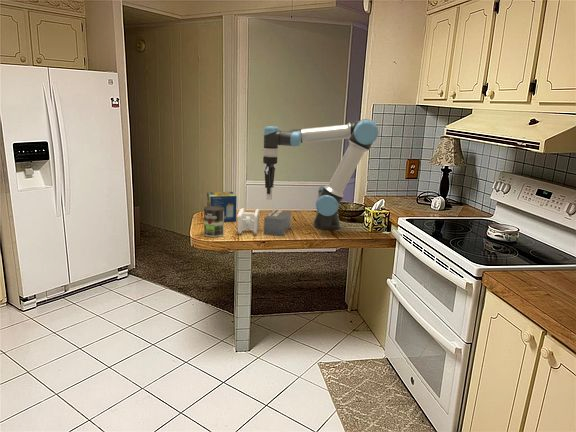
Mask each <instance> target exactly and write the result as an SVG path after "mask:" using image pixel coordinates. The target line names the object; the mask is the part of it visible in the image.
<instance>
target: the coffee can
mask: <svg viewBox="0 0 576 432" xmlns="http://www.w3.org/2000/svg"><path fill="white" fill-rule="evenodd" d="M203 211H204V212H203V213H204V214H203V216H204V217H203V220H204V221H203V222H204V223H203V225H204V226H203V232H204V233H203V235H204V236H206V237H209V238H219V237H222V236H224V234H225V233H224V232H225V229H224V228H225V222H224V207H221V206H207V205H206V206H204V207H203Z"/></svg>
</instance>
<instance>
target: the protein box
mask: <svg viewBox="0 0 576 432" xmlns="http://www.w3.org/2000/svg"><path fill="white" fill-rule="evenodd" d="M237 201H238V200H237V195H236V194H235V193H234V192H233V191H219V192H207V193H206V206H221V207H224V223H232V222H233V223H235V222H236V223H237Z"/></svg>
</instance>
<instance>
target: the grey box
mask: <svg viewBox="0 0 576 432" xmlns="http://www.w3.org/2000/svg"><path fill="white" fill-rule="evenodd" d="M291 218H292V211H287V210H279V209H273V210H272V211H271V212H269V213H268V214H266V215H265V217H264V220H263V221H264V222H263V234H264V235H267V236H268V235H269V236H270V235H271V236H278V237H283V236H284V235H285V234H286V232H287V231H288V230H289V229H290V228H291V221H292V219H291Z"/></svg>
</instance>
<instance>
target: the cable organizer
mask: <svg viewBox="0 0 576 432" xmlns="http://www.w3.org/2000/svg"><path fill="white" fill-rule="evenodd" d="M236 219H237V234H239V235H241V234H242V232H243V231H246V230H250V232H253V234H254V235H257V234H258V232H259V227H260V208H256V209H255V212H249V211H248V212H247V211H245V208H244V207H243V208H240V209H239V211H238V213H236Z"/></svg>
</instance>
